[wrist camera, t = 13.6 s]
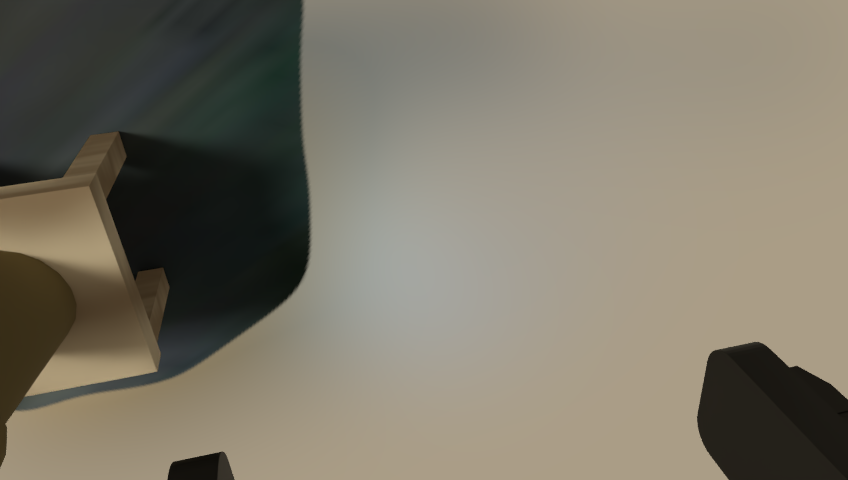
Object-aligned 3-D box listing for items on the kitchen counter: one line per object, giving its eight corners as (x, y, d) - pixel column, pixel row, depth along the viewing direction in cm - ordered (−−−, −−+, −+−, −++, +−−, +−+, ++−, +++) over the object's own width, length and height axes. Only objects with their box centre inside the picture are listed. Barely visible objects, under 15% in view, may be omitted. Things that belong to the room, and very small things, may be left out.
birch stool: (-95, 156, 35) (-182, 226, 28) (121, 126, 36) (88, 186, 30) (-10, 321, 40) (-66, 413, 34) (174, 289, 42) (157, 371, 35)
